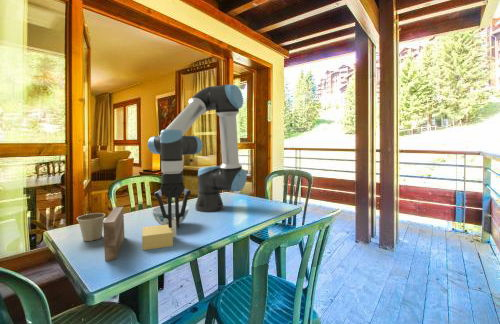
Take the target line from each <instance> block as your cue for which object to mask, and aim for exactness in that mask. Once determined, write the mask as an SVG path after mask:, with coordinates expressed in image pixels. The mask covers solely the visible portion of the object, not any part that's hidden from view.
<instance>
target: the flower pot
mask: <svg viewBox="0 0 500 324" xmlns="http://www.w3.org/2000/svg"><path fill="white" fill-rule="evenodd" d="M105 217H106V214H105V213H102V212H94V213H86V214H83V215H80V216H78V217H76V220H77V222H78V224H79V227H80V231H81V236H82V240H83V241H84V242H93V241H94V240H97V241H98V240H99V239H101V238H102V237H103V231H104V230H103V222H104V221H105Z"/></svg>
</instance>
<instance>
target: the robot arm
mask: <svg viewBox="0 0 500 324" xmlns="http://www.w3.org/2000/svg"><path fill="white" fill-rule="evenodd" d="M242 94H243V93H242V92H241V90H240V87H239V86H237V85H236V84H222V85H214V86H213V85H211V86H207V87H205V88H202V89H201V90H199V91H198V92H197V93H195V94H193V95H192V97H191V98H190V99H189V100H188V104H187V105H186V107H184V109H183V110H182V111H181V112H180V113H179V114H178V115H177V116H176V117H175V118H174V119H173V120H172V122H170V123H169V125H168V126H167V127H165V129H162V130H161V131H160V134H159V135H154V136H151V137H150V138H149V139H148V141H147V148H148V150H149V151H150V153H151V154H154V155H159V156H160V169H161V172H162V173H161V186H160V189H159V190H158V191H155V192H154V197H155V198H156V199H157V201H158V204H159V207H160V209H161V212H162V215H163V218H166V219H168V226H169V228H172V231H173V238H177V228H179V227H180V224H179V218H180V217H183V216H184V213H185V209H186V206H187V203H188V200H189V196H191V193H192V191H191V190H190V189H187V188H186V187H185V185H184V173H183V171H184V161H183V157H184V156H188V155H189V156H190V155H193V156H194V155H197V154H200V153H201V152H202V149H203V141H202V139H201V138H200V137H198V136H196V135H186V133H187V132H188V131H189V129H190V128H191V127H192V126H193V124H195V122H196V121H197V120H198V118H199V117H201V116H202V115H204V114H206V112H209V111H215V114H216V115H217V116H218V117H219V119H218V120H219V121H218V122H219V135H220V150H221V164H220V165H214V166H212V165H211V166H206V167H200V168H199V169H198V171H197V183H198V185H197V186H198V189H197V191H198V194H197V195H198V196H197V199H196V202H195V211H198V212H205V213H207V212H208V213H210V212H211V213H212V212H218V211H221V210H223V209H224V202H223V199H222V196H221V191H223V192H232V193H234V192H241V191H243V189H244V187H245V186H246V183H247V179H248V178H247V171H246V170H245V169H243V165H242V164H241V163H240V161H239V147H238V146H239V144H238V143H239V142H238V127H237V126H238V125H237V115H238V114H239V113H240V109H241V108H243V104H244V97H243V95H242ZM182 194H184V196H183V199H182V204H181V205H182V208H181V212H180V213H179V205H180V204H179V203H180V196H182ZM162 195H164V196H165V197H166V198H167V205H168V214H166V212H165V208H164V206H165V205H164V202H163V199H162ZM172 199H174V205H175V217H174V218H172V207H171V205H172ZM176 227H177V228H176Z"/></svg>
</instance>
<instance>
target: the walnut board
mask: <svg viewBox="0 0 500 324" xmlns="http://www.w3.org/2000/svg"><path fill="white" fill-rule="evenodd" d="M102 231H103V247H104V262H105V261H106V262H108V261H113V260H114V261H115V260H117V258H118V256H119V255H118V254H119V252H120V250H121V247H122V244H123V243H124V240H125V216H124V206H117V207H114V208H113V209H112V210H111V211H110V213H109V214H108V215H107V217H106V218H105V219H104V220H103V230H102Z"/></svg>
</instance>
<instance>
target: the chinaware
mask: <svg viewBox="0 0 500 324" xmlns="http://www.w3.org/2000/svg"><path fill="white" fill-rule="evenodd" d="M171 207H172V218H174V217H175V204H171ZM164 208H165V212H166V214H168V204H166V205H164ZM181 208H182V204H179V213H180V212H181ZM151 213H152V216H153V218H154V219H155V221H156V222H157V223H158V224H159V225H168V219H166V218H163V215H162V212H161V209H160V206H157V207H155V208H153V209H152V212H151ZM188 213H189V206H187V205H186V209H185V213H184V216H183V217H180V218H179V225H181V224H182V223H183V222H184V221H185V219H186V217H187V216H188ZM177 228H178V227H176V229H177Z"/></svg>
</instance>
